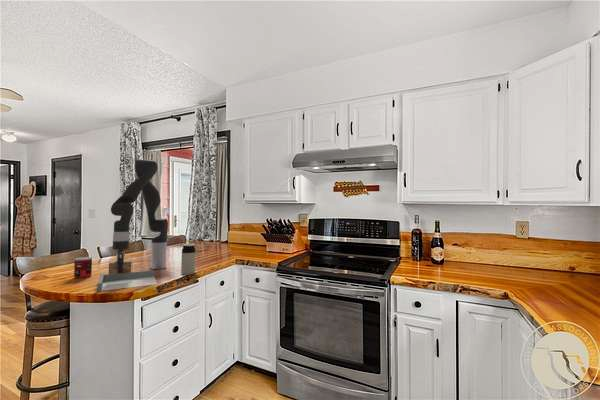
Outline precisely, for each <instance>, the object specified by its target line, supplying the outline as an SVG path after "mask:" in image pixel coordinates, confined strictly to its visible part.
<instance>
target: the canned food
mask: <svg viewBox="0 0 600 400" xmlns="http://www.w3.org/2000/svg"><path fill="white" fill-rule="evenodd" d="M73 263H74V266H73V268H74V269H73V278H74V279H76V280H83V279H89V278H91V277H92V270H93V268H92V267H93V257H92V256H84V257H83V256H80V257H76V258H74V262H73Z"/></svg>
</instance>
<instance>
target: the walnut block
mask: <svg viewBox="0 0 600 400" xmlns="http://www.w3.org/2000/svg"><path fill="white" fill-rule="evenodd" d="M119 263H122V261H120V262H119ZM117 264H118V262H117V260H113V261H108V274H109V275H113V274H123V273H131V272H132V259H130V260H129V259H124V261H123V272H122V273H118V265H117Z"/></svg>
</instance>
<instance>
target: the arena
mask: <svg viewBox="0 0 600 400" xmlns="http://www.w3.org/2000/svg"><path fill="white" fill-rule="evenodd" d="M153 285H158V282H157V280H156V278H155V269H148V270H138V271H131V273H123V274H113V275H109V273H105V274H100V275H99V279H98V280H97V292H100V291H101V292H102V291H110V290H118V289H119V290H121V289H127V288H129V289H130V288H135V287H143V286H153Z"/></svg>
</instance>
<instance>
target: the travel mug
mask: <svg viewBox="0 0 600 400" xmlns="http://www.w3.org/2000/svg"><path fill="white" fill-rule="evenodd" d="M195 245H196V244H195V243H184V244H182V248H181V265H180V266H181V269H180V270H181V271H180V273H181V275H185V276H188V275H193V274H195V273H196V248H195Z"/></svg>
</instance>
